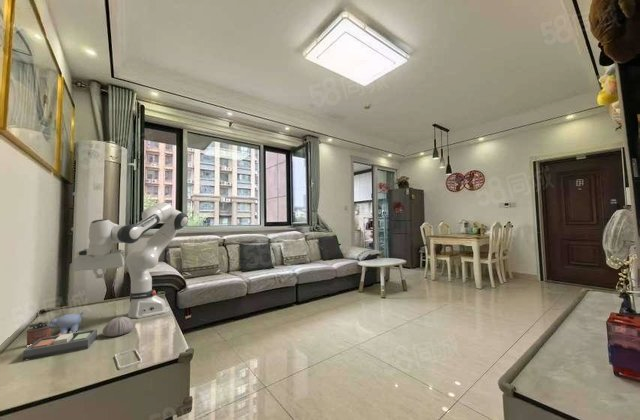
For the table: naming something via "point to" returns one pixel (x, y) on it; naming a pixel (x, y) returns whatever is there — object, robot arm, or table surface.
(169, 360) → the table surface
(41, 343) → the terracotta key
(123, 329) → the sea urchin shell
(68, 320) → the hippopotamus toy
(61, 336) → the cream key
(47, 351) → the grey tray
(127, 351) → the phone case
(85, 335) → the sage key
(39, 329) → the lighter
